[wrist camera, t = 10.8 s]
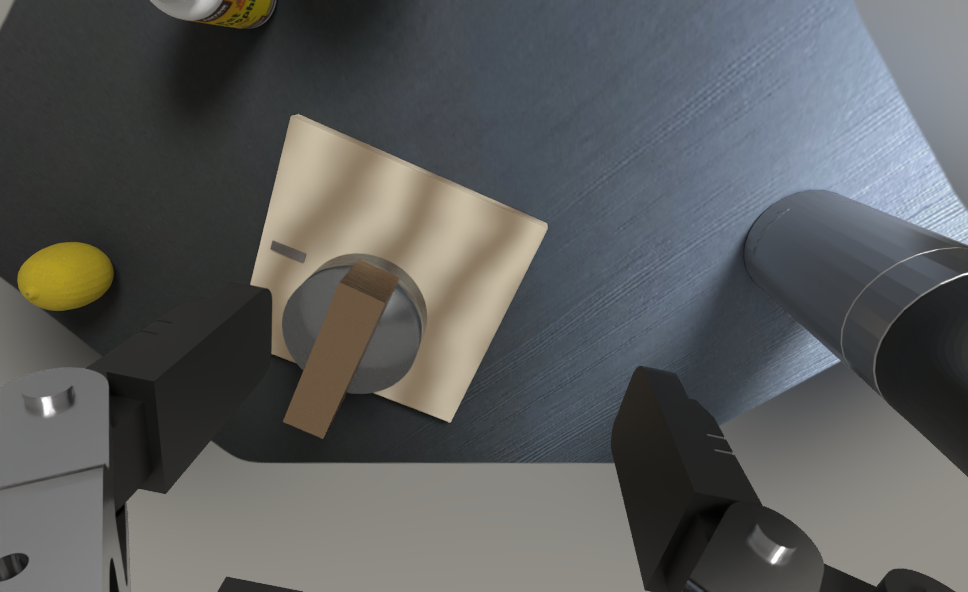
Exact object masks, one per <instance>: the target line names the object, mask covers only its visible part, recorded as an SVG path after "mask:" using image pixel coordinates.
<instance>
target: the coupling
mask: <svg viewBox="0 0 968 592" xmlns="http://www.w3.org/2000/svg"><path fill="white" fill-rule="evenodd" d="M426 326H427V308H426V303H425V300H424V297H423V295H422V293H421V291H420V289H419V287H418V286H417V284H416V283H415V281H414V280H413V279H412V278H411V277H410V276H409V275H408V274H407V273H406V272H405V271H404V270H403V269H401V268H400V267H399V266H397V265H396V264H394V263H392V262H390V261H388V260H386V259H383V258H381V257H378V256H374V255H369V254H360V253H354V254H345V255H341V256H338V257H335V258H333V259H331V260H329V261H327V262H325V263H324V264H323V265H321V266H320V267H319V268H318V269H317V270H316V271H315V272H314V273H313V274H312V275H311V276H310V277H309V278H307V279H306V280H305V281H304V282H303V283H302V284H301V285H300V286H299V287H298V288H297V289H296V290H295V291H294V293H293V294H292V295H291V297H290V298H289V300H288V301H287V304H286V306H285V308H284V312H283V317H282V332H283V337H284V341H285V344H286V346H287V349H288V351H289V353H290V354H291V356H292V358H293V359H294V361H295V362H296V363H297V364H298V366H299V367H300V368H301V369H302V370H303V373H302V376H301V378H300V381H299V383H298V386H297V388H296V391H295V393H294V396H293V398H292V401H291V403H290V405H289V408H288V410H287V413H286V415H285V418H284V420H283V422H284V423H287V424H289V425H292V426H294V427H296V428H299V429H301V430H303V431H306V432H308V433H311V434H313V435H315V436H318V437H320V438H322V439H323V438H324V436H325V434H326V432H327V431H328V429H329V427H330V425H331V423H332V421H333V419H334V417H335V416H336V414H337V412H338V410H339V408H340V406H341V404H342V402H343V400H344V398H345V396H346V394H347V393H352V394H367V393H374V392H378V391H381V390H385V389H387V388H389V387H391V386H393V385H394V384H396V383H397V382H399V381H400V380H401V379H402V378H403V377H404V376H405V375H406V374H407V373H408V372H409V370H410V368H411V367H412V365H413V363H414V360H415V358H416V355H417V353H418V350H419V347H420V344H421V342H422V339H423V336H424V334H425V330H426Z"/></svg>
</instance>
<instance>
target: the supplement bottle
mask: <svg viewBox="0 0 968 592" xmlns="http://www.w3.org/2000/svg"><path fill="white" fill-rule="evenodd" d="M150 1H151V2H152V3H153V4H154V5H155V6H156V7H158V8H159V9H160V10H162V11H163V12H165V13H166V14H168V15H170V16H173V17H175V18H178V19H183V20H188V21H194V22H201V23H207V24H213V25H220V26H227V27H233V28H239V29H251V28H255V27H258V26H260V25H262V24H263V23H265V22H266V21H267V20H268V19H269V17H270V16H271V15H272V13H273V11H274V8H275V5H276V0H150Z"/></svg>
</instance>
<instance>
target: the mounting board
mask: <svg viewBox="0 0 968 592" xmlns="http://www.w3.org/2000/svg"><path fill="white" fill-rule="evenodd" d="M547 229H548V227H547V223H545V222H543V221H540V220H538V219H536V218H534V217H531V216H529V215H527V214H525V213H522V212H520V211H518V210H515V209H513V208H511V207H509V206H506V205H504V204H502V203H500V202H497V201H495V200H493V199H490V198H488V197H486V196H484V195H481V194H479V193H477V192H475V191H472V190H470V189H468V188H465V187H463V186H461V185H459V184H456V183H454V182H452V181H449V180H447V179H445V178H443V177H440V176H438V175H436V174H434V173H431V172H429V171H427V170H424V169H422V168H420V167H418V166H415V165H413V164H411V163H409V162H406V161H404V160H402V159H399V158H397V157H395V156H393V155H390V154H388V153H386V152H384V151H381V150H379V149H377V148H374V147H372V146H370V145H368V144H365V143H363V142H361V141H359V140H356V139H354V138H352V137H349V136H347V135H345V134H343V133H340V132H338V131H336V130H334V129H331V128H329V127H327V126H324V125H322V124H320V123H318V122H315V121H313V120H311V119H308V118H306V117H304V116H302V115H299V114H298V115H293V116H291V118H290V122H289V126H288V130H287V135H286V139H285V143H284V147H283V151H282V155H281V160H280V164H279V168H278V172H277V176H276V180H275V184H274V189H273V193H272V197H271V201H270V205H269V209H268V214H267V218H266V222H265V226H264V230H263V234H262V238H261V243H260V247H259V251H258V255H257V259H256V263H255V267H254V272H253V276H252V280H251V284H250V285H253V286H258V287H263V288H268V289H269V290H270V291H271V294H272V352H271V354H274V355H276V356H279V357H281V358H284V359H287V360H289V361H292V362H294V363H296V362H295V361H294V359H293V358H292V356H291V354H290V353H289V351H288V349H287V346H286V344H285V341H284V337H283V332H282V317H283V312H284V308H285V306H286V304H287V301H288V300H289V298H290V297H291V295H292V294H293V293H294V291H295V290H296V289H297V288H298V287H299V286H300V285H301V284H302V283H303V282H304V281H305V280H306V279H307V278H309V277H310V276H311V275H312V274H313V273H314V272H315V271H316V270H317V269H318V268H319V267H320V266H321V265H323V264H324V263H325V262H327V261H329V260H331V259H333V258H335V257H338V256H341V255H345V254H354V253H360V254H369V255H374V256H378V257H381V258H383V259H386V260H388V261H390V262H392V263H394V264H396V265H397V266H399V267H400V268H401V269H403V270H404V271H405V272H406V273H407V274H408V275H409V276H410V277H411V278H412V279H413V280H414V281H415V283H416V284H417V286H418V287H419V289H420V291H421V293H422V295H423V297H424V300H425V303H426V308H427V326H426V330H425V334H424V336H423V339H422V342H421V344H420V347H419V350H418V353H417V355H416V358H415V360H414V363H413V365H412V367H411V368H410V370H409V372H408V373H407V374H406V375H405V376H404V377H403V378H402V379H401V380H400V381H399V382H397V383H396V384H394V385H393V386H391V387H389V388H387V389H385V390H381V391H378V392H374V393H375V394H378V395H380V396H383V397H385V398H388V399H391V400H393V401H396V402H398V403H401V404H404V405H406V406H409V407H411V408H414V409H417V410H419V411H422V412H424V413H427V414H430V415H432V416H435V417H437V418H440V419H442V420H445V421H448V422H451V420H452V418H453V416H454V414H455V412H456V410H457V408H458V406H459V404H460V402H461V400H462V398H463V396H464V394H465V392H466V390H467V388H468V386H469V384H470V382H471V381H472V379H473V377H474V375H475V373H476V371H477V369H478V367H479V365H480V363H481V361H482V359H483V357H484V355H485V353H486V351H487V349H488V347H489V345H490V343H491V341H492V339H493V337H494V335H495V333H496V331H497V329H498V327H499V325H500V323H501V321H502V319H503V317H504V315H505V313H506V311H507V309H508V307H509V305H510V303H511V301H512V299H513V297H514V295H515V293H516V291H517V289H518V287H519V285H520V283H521V281H522V279H523V277H524V275H525V273H526V271H527V269H528V267H529V265H530V263H531V261H532V259H533V257H534V255H535V253H536V251H537V249H538V247H539V245H540V243H541V241H542V239H543V237H544V235H545V233H546V231H547Z"/></svg>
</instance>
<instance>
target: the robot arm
mask: <svg viewBox="0 0 968 592" xmlns="http://www.w3.org/2000/svg"><path fill="white" fill-rule="evenodd" d="M744 259H745V266H746V268H747V271H748V273H749V275H750V276H751V278H752V279H753V280H754V282H755V283H756V284H757V285H758V286H760V287H761V288H762V289H763V290H764V291H765V292H766V293H767V294H768V295H769V296H771V297H772V298H773V299H774V300H775V301H776V302H777V303H778V304H779V305H780V306H781V307H782V308H783V309H784V310H786V311H787V312H788V313H789V314H790V315H791V316H792V317H793V318H794V319H795V320H797V321H798V322H799V323H800V324H801V325H802V326H803V327H804V328H805V329H806V330H808V331H809V332H810V333H811V334H812V335H813V336H814V337H815V338H816V339H817V340H819V341H820V342H821V343H822V344H823V345H824V346H825V347H826V348H827V349H828V350H830V351H831V352H832V353H833V354H834V355H835V356H836V357H837V358H838V359H839V360H841V361H842V362H843V363H844V364H845V365H846V366H847V367H848V368H849V369H851V370H852V371H853V372H854V373H855V374H856V375H857V376H858V377H860V378H861V379H862V380H863V381H864V382H865V383H866V384H867V385H869V386H870V387H871V388H872V389H873V390H874V391H875V392H876V393H877V394H878V395H879V396H881V397H882V398H883V399H884V400H885V401H886V402H887V403H888V404H889V405H890V406H892V407H893V408H894V409H895V410H896V411H897V412H898V413H899V414H900V415H901V416H903V417H904V418H905V419H906V420H907V421H908V422H909V423H910V424H912V425H913V426H914V427H915V428H916V429H917V430H918V431H919V432H920V433H921V434H922V435H923V436H924V437H926V438H927V439H928V440H929V441H930V442H931V443H932V444H933V445H934V446H935V447H936V448H937V449H938V450H940V451H941V452H942V453H943V454H944V455H945V456H946V457H947V458H948V459H949V460H950V461H951V462H952V463H953V464H955V465H956V466H957V467H958V468H959V469H960V470H961V471H962V472H963V473H964V474H965V475H967V477H968V245H966V244H963V243H961V242H958V241H956V240H953V239H951V238H948V237H946V236H943V235H940V234H938V233H935V232H933V231H930V230H928V229H925V228H923V227H920V226H918V225H915V224H913V223H910V222H907V221H905V220H902V219H900V218H897V217H895V216H892V215H890V214H887V213H885V212H882V211H880V210H877V209H874V208H872V207H870V206H867V205H865V204H862V203H860V202H857V201H855V200H852V199H850V198H847V197H845V196H842V195H839V194H837V193H834V192H829V191H825V190H809V191H803V192H798V193H795V194H793V195H790V196H787V197H785V198H783V199H781V200H780V201H778V202H776V203H775V204H773V205H772V206H771V207H770V208H768V209H767V210H766V211H765V212H764V213H763V214H762V215H761V216H760V217H759V218H758V220H757V221H756V222H755V223H754V225H753V227H752V229H751V230H750V232H749V234H748V237H747V240H746V243H745V251H744ZM271 352H272V294H271V291H270V290H269V289H268V288H263V287H258V286H253V285H249V284H244V283H239V282H233V281H232V282H229V283H228V284H226V285H225V286H223V287H222V288H221V289H219V290H218V291H217V292H215V293H214V294H212V295H211V296H210V297H208V298H207V299H202V298H200V299H197V300H194V301H191V302H188V303H185V304H182V305H180V306H177V307H174V308H173V309H172V310H170V311H169V312H167V313H166V314H164V315H163V316H161V317H160V318H158V319H157V321H156V323H155V322H153V323H151V324H150V325H148V326H147V327H145V328H144V329H142V330H141V333H137V334H135V335H134V336H132V337H131V338H129V339H128V340H126V341H125V342H123V343H122V344H120V345H119V346H118V347H116V348H115V349H113V350H112V351H110V352H109V353H107V354H106V355H104V356H103V357H101V358H100V359H99V360H97V361H96V362H94V363H93V364H91V365H90V366H88V367H87V368H85V369H84V368H73V367H72V368H55V369H48V370H43V371H39V372H34V373H31V374H27V375H24V376H21V377H19V378H17V379H14V380H12V381H10V382H8V383H6V384H4V385H3V386H1V387H0V592H131V582H130V557H129V531H128V511H127V504H126V501H127V500H128V499H129V498H130V497H131V496H132V495H133V494H134V493H135V492H136V490H137V489H144V490H148V491H153V492H158V493H163V494H166V493H167V492H168V490H169V489H170V488H171V487H172V486H173V485H174V483H175V482H176V481H177V480H178V479H179V478H180V476H181V475H182V474H183V472H185V470H186V469H187V468H188V467H189V466H190V464H191V463H192V462H193V461H194V460H195V458H196V457H197V456H198V455H199V454H200V452H201V451H202V450H203V449H204V448H205V447H206V445H207V444H208V443H209V442H210V441H211V439H212V438H213V437H214V436H215V435H216V433H217V432H218V431H219V430H220V429H221V427H222V426H223V425H224V424H225V423H226V422H227V420H228V419H229V418H230V417H231V416H232V414H233V413H234V412H235V411H236V410H237V408H238V407H239V406H240V405H241V404H242V402H243V401H244V400H245V399H246V398H247V396H248V395H249V394H250V393H251V392H252V391H253V389H254V388H255V387H256V386H257V385H258V383H259V382H260V381H261V380H262V378H263V377H264V375H265V373H266V371H267V369H268V366H269V363H270V359H271ZM611 447H612V454H613V458H614V462H615V466H616V470H617V475H618V479H619V483H620V487H621V492H622V496H623V500H624V504H625V508H626V512H627V517H628V521H629V525H630V529H631V534H632V538H633V542H634V546H635V551H636V555H637V559H638V563H639V567H640V572H641V576H642V580H643V584H644V589H645V590H646V591H651V592H955V591H953V590H952V589H950V588H949V587H947V586H946V585H944V584H942V583H940V582H939V581H937V580H935V579H933V578H931V577H929V576H926V575H924V574H922V573H919V572H916V571H913V570H908V569H893V570H891V571H889V572H888V573H887V574H886V576H885V577H884V578H883V579H882V580H881V582H880V583H879V584H878V585H877V587H875V586H873V585H871V584H868V583H866V582H864V581H862V580H860V579H857V578H855V577H853V576H851V575H848V574H846V573H844V572H842V571H839V570H837V569H835V568H832V567H830V566H828V565H826V564H824V562H823V558H822V556H821V553H820V552H819V550H818V548H817V547H816V545H815V544H814V542H813V541H812V540H811V539H810V537H808V535H807V534H806V533H805V532H804V531H803V530H802V529H801V528H799V527H798V526H797V525H796V524H794V523H793V522H792V521H791V520H789V519H788V518H786V517H785V516H783V515H782V514H780V513H778V512H776V511H775V510H772V509H770V508H768V507H765V506H763V505H762V504H761V502H760V500H759V498H758V496H757V495H756V493H755V491H754V489H753V487H752V486H751V484H750V482H749V480H748V478H747V476H746V475H745V473H744V471H743V469H742V467H741V466H740V464H739V462H738V460H737V458H736V457H735V455H732V449H731V448H730V446H729V445H728V442H727V441H726V440H724V435H723V433H722V431H721V429H720V428H719V426H718V424H717V422H716V420H715V419H714V417H713V416H712V415H711V414H710V413H709V412H707V411H706V410H705V409H704V408H703V407H702V406H701V405H700V404H699V403H698V402H697V401H696V400H692V399H689V398H688V396H687V394H686V392H685V390H684V388H683V386H682V384H681V382H680V380H679V378H678V376H677V375H676V374H675V373H673V372H668V371H663V370H658V369H654V368H649V367H644V366H639V367H637V368H636V370H635V371H634V373H633V375H632V378H631V380H630V383H629V386H628V388H627V391H626V393H625V396H624V399H623V401H622V404H621V406H620V409H619V412H618V414H617V417H616V419H615V422H614V426H613V430H612V438H611ZM218 592H303V591H297V590H292V589H287V588H282V587H277V586H272V585H267V584H262V583H256V582H251V581H246V580H241V579H236V578H231V577H226V578H225V580H224V582H223V583H222V585H221V587H220V588H219V590H218Z"/></svg>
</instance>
